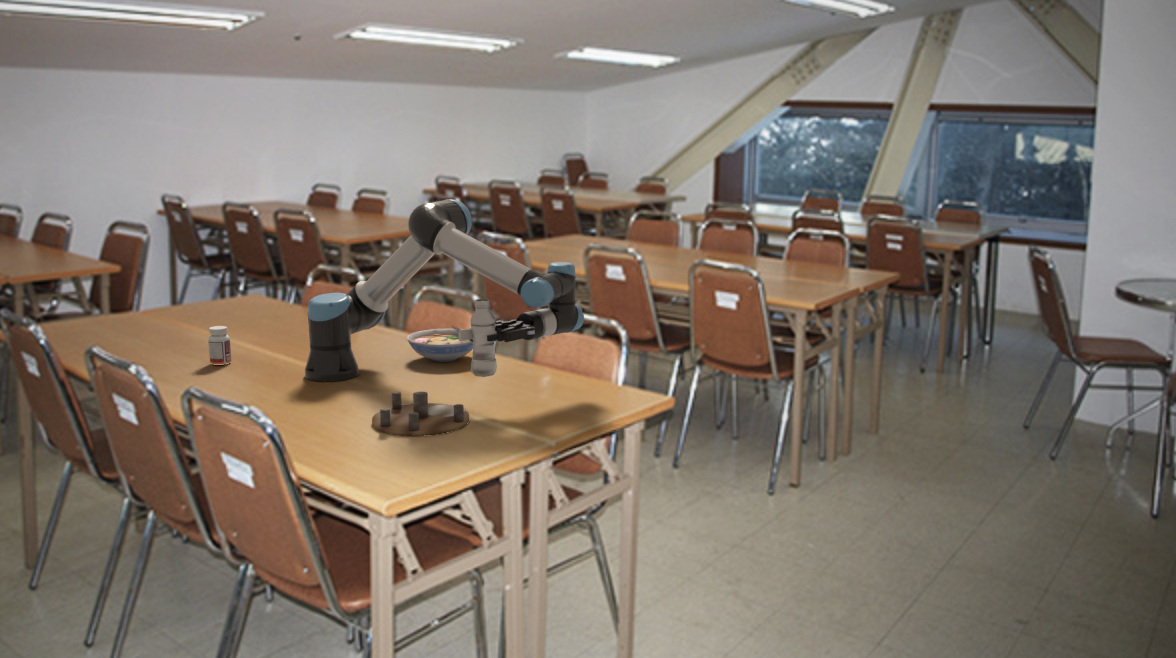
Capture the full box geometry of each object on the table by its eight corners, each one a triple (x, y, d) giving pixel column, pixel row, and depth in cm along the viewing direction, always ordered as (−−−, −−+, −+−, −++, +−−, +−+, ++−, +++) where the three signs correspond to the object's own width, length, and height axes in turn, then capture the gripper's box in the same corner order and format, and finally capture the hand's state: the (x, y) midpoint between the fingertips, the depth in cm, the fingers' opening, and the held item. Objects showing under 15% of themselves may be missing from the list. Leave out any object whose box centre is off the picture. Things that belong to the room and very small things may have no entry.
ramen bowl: (398, 353, 325) (397, 328, 323) (468, 347, 334) (467, 322, 332) (418, 372, 303) (417, 345, 301) (491, 365, 311) (491, 338, 310)
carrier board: (362, 436, 244) (361, 407, 242) (382, 407, 267) (381, 380, 266) (463, 436, 244) (462, 407, 242) (474, 407, 267) (473, 381, 266)
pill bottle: (227, 360, 316) (224, 324, 313) (234, 364, 311) (232, 327, 309) (207, 363, 312) (204, 327, 309) (214, 367, 307) (211, 330, 305)
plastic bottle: (471, 373, 267) (469, 298, 263) (497, 372, 268) (495, 297, 264) (470, 379, 261) (468, 302, 257) (497, 379, 262) (495, 302, 257)
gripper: (559, 344, 269) (491, 358, 253) (512, 332, 282) (445, 346, 266) (559, 316, 267) (491, 329, 251) (512, 306, 280) (444, 317, 264)
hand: (467, 337), depth 259 cm, fingers closed on plastic bottle, 6 cm apart
